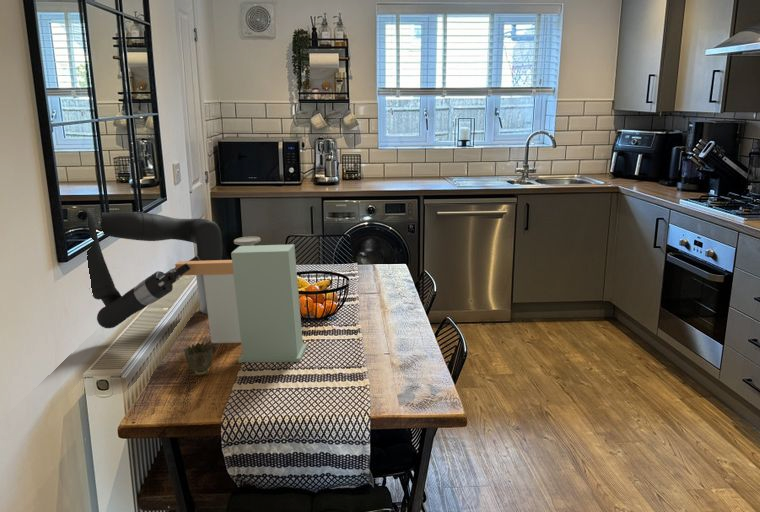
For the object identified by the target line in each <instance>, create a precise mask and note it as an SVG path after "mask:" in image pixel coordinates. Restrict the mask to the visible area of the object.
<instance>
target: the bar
mask: <svg viewBox="0 0 760 512" xmlns="http://www.w3.org/2000/svg"><path fill="white" fill-rule="evenodd" d="M186 263H187V264H188V265H189V266H190V268H191V269H190V270H188V271H187V272H185V273H184V274H182V275H183V276H196V275H211V274H233V265H232V259H221V260H210V261H189V260H185V261H183V260H179V261H177V263H175V264H174V265H175V266H174V268H175V267H176V269H178V268H179V267H181V266H182V265H184V264H186Z"/></svg>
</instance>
